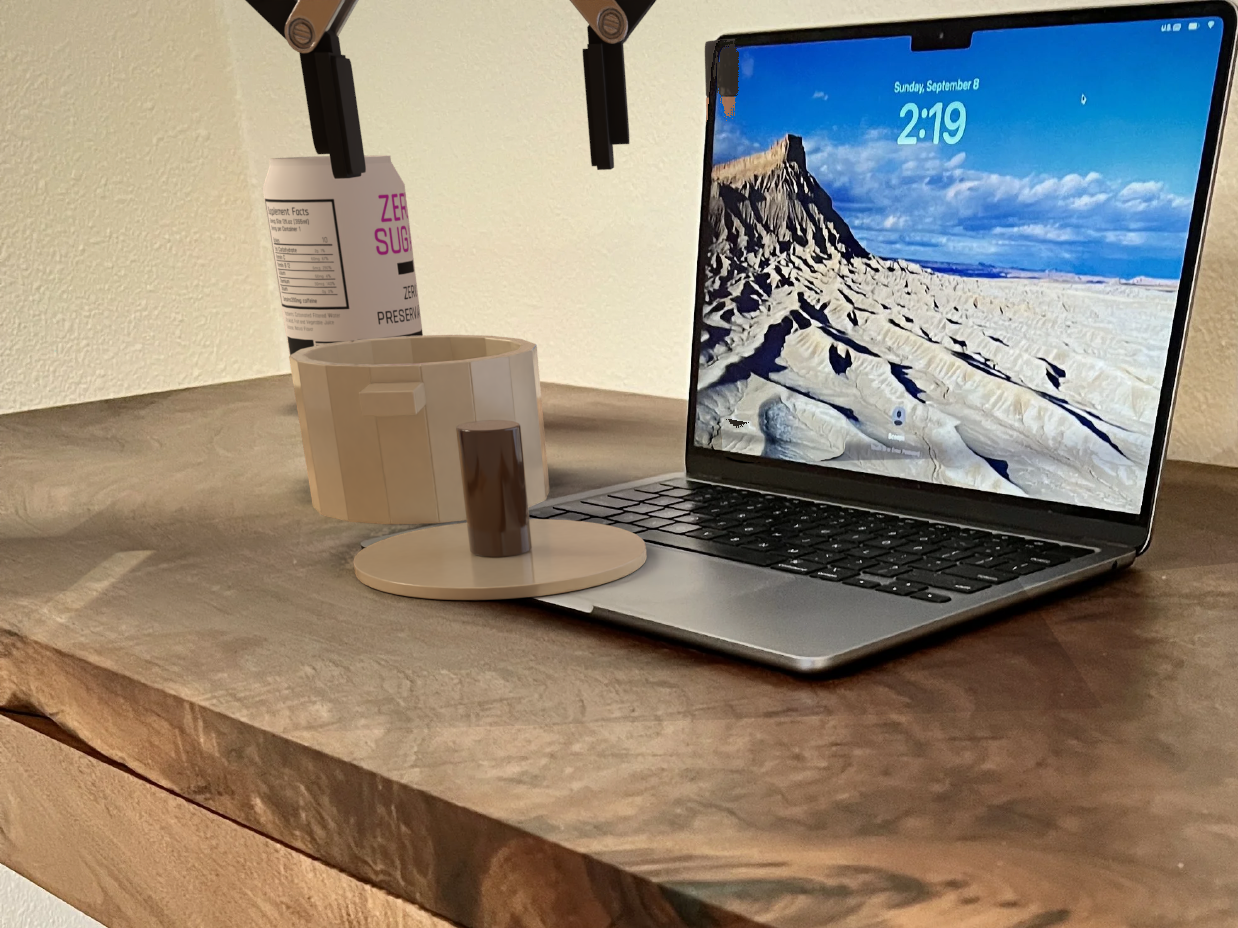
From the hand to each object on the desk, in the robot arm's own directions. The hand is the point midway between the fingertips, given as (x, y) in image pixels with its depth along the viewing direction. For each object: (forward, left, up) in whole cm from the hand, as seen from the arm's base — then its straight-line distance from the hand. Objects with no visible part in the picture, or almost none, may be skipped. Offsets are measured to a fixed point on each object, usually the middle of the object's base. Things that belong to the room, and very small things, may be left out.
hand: (477, 172), depth 61 cm
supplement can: (-14, +39, -15) cm, 44 cm away
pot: (-6, +13, -15) cm, 21 cm away
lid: (-1, -1, -15) cm, 15 cm away
